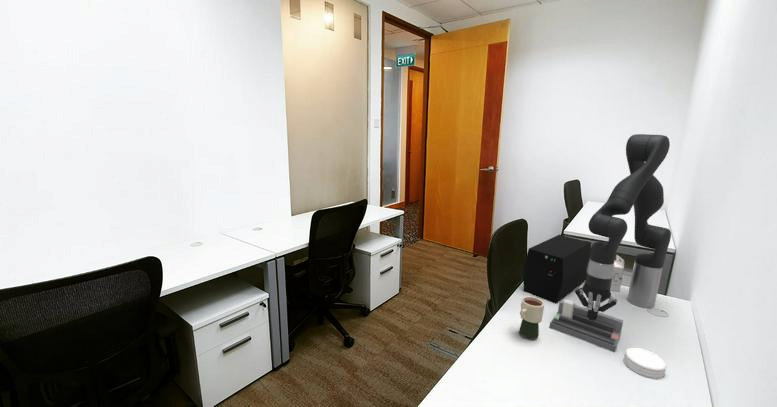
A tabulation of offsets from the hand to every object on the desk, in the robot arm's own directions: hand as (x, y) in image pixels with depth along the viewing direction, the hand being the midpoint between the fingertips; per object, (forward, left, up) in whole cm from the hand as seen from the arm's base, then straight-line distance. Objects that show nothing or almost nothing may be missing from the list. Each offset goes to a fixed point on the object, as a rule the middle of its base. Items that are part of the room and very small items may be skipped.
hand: (591, 319), depth 117 cm
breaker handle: (0, -7, -3) cm, 8 cm away
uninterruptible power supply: (-30, -20, -6) cm, 36 cm away
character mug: (+16, -16, -6) cm, 23 cm away
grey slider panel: (0, -2, -5) cm, 6 cm away
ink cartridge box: (-48, -1, -6) cm, 48 cm away
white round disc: (+8, +16, -6) cm, 19 cm away
